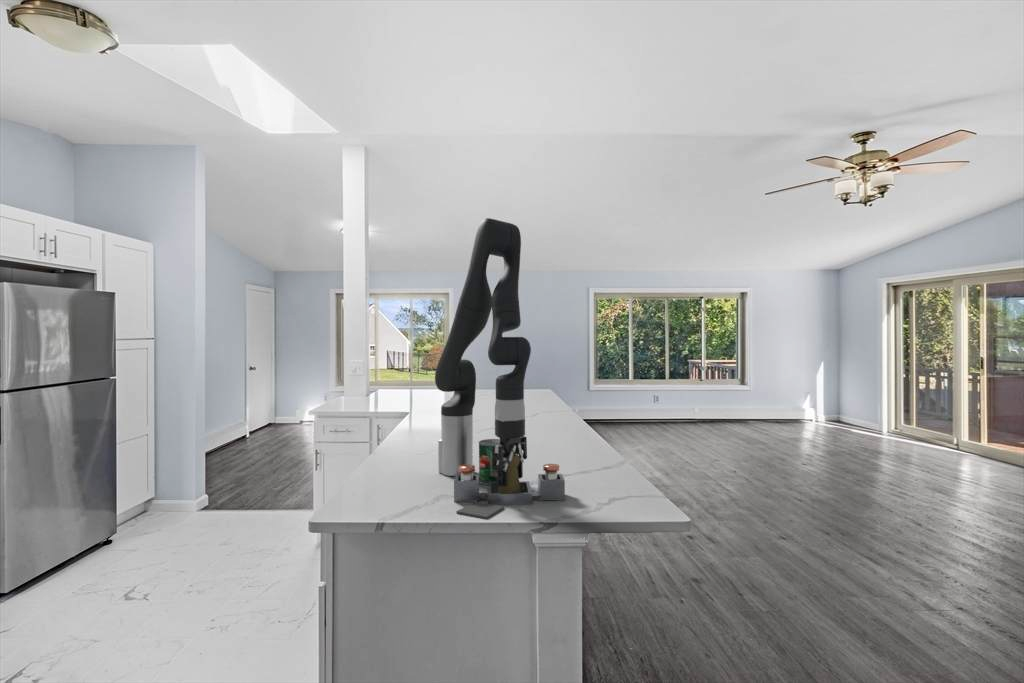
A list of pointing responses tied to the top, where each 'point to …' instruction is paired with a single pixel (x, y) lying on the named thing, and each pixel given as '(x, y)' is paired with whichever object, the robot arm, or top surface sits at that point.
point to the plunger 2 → (550, 471)
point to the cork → (512, 477)
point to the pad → (480, 510)
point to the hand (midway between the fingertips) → (510, 482)
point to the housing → (546, 491)
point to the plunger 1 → (466, 472)
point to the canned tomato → (487, 461)
